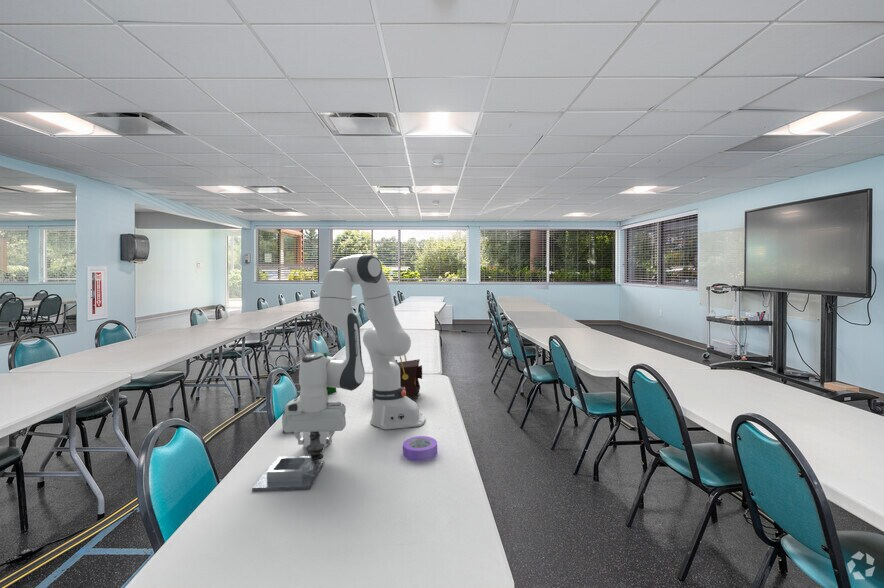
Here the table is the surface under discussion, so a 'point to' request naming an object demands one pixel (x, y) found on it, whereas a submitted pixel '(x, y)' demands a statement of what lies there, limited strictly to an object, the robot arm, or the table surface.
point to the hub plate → (289, 474)
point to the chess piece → (315, 446)
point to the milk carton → (330, 389)
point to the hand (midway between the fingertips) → (315, 443)
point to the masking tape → (420, 448)
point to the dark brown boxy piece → (410, 376)
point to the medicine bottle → (322, 438)
